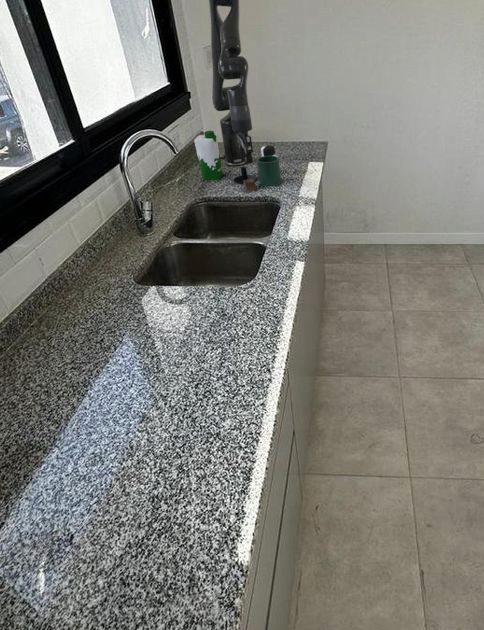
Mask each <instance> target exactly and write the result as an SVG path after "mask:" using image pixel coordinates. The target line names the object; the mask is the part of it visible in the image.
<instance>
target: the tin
mask: <svg viewBox="0 0 484 630" xmlns="http://www.w3.org/2000/svg"><path fill="white" fill-rule="evenodd" d="M276 156H277V155H275V156H263V157H262V156H260V157H258V158H256V166H257V175H258V183H259V185H260V186H263V187H275V186H279V185H280V184H281V183H282V177H281V167H280V158H279V156H278V157H276Z"/></svg>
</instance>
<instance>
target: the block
mask: <svg viewBox="0 0 484 630" xmlns="http://www.w3.org/2000/svg"><path fill="white" fill-rule="evenodd" d="M242 185H243V189H244V190H245V191H246V192H251V191H256V190H257V187H256V181H254V180H253V179H247V180H243V184H242Z"/></svg>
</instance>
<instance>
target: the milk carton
mask: <svg viewBox="0 0 484 630" xmlns="http://www.w3.org/2000/svg"><path fill="white" fill-rule="evenodd" d="M193 142H194V145H195V152H196V155H197V159H198V165H199V169H200V173H201V177H202V181H220V180H221V178H222V177H223V175H224V174H223V166H222V161H221V159H220V157H221V155H220V151H219V144H218V135H217V134H215V131H214V130H206V131H204V134H199V135H198V136H196V138H194V139H193Z"/></svg>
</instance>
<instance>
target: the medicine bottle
mask: <svg viewBox="0 0 484 630" xmlns="http://www.w3.org/2000/svg"><path fill="white" fill-rule="evenodd" d="M260 153H261V157H263V156H276V157H278V158H279V156H278V155H276V149H275V146H273V145H263V146H262V147H261V148H260Z"/></svg>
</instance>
